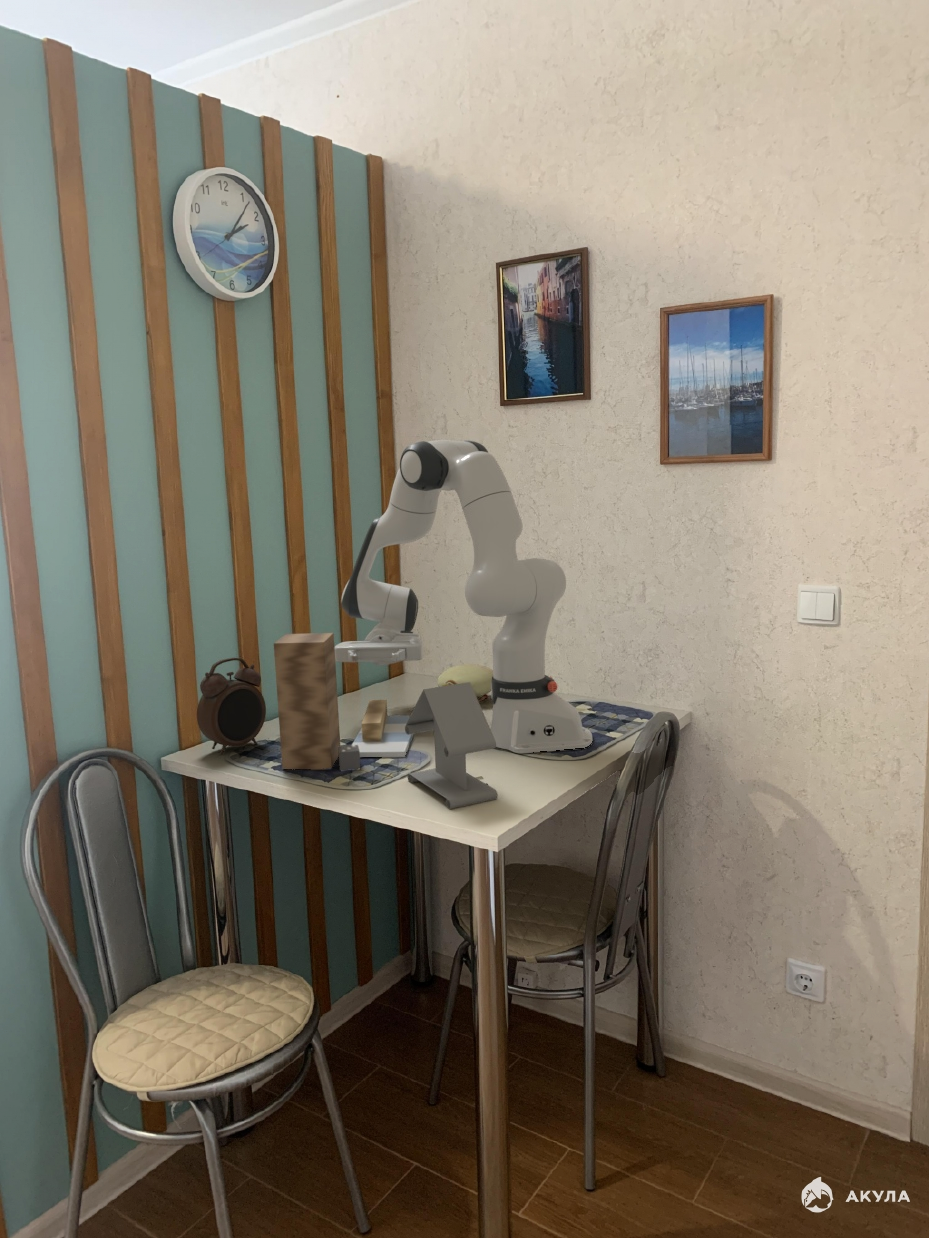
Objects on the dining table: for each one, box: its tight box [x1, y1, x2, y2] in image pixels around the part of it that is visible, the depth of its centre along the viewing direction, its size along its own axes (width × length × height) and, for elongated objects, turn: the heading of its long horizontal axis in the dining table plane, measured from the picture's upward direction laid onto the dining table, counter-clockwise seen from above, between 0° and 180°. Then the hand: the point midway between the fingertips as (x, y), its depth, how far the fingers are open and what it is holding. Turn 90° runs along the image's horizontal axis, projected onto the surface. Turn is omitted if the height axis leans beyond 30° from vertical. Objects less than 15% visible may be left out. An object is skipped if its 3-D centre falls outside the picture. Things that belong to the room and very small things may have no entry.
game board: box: [350, 714, 414, 758], centre depth 209 cm, size 12×28×1 cm, turn 177°
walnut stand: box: [273, 632, 341, 771], centre depth 192 cm, size 10×10×26 cm
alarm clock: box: [196, 657, 267, 755], centre depth 203 cm, size 14×7×20 cm, turn 138°
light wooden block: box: [361, 699, 388, 742], centre depth 212 cm, size 4×20×4 cm, turn 1°
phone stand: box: [405, 682, 498, 810], centre depth 173 cm, size 18×10×20 cm, turn 28°
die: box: [338, 745, 361, 771], centre depth 189 cm, size 4×4×4 cm
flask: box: [437, 663, 493, 703], centre depth 237 cm, size 9×16×18 cm
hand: (374, 658), depth 209 cm, fingers open, 8 cm apart
